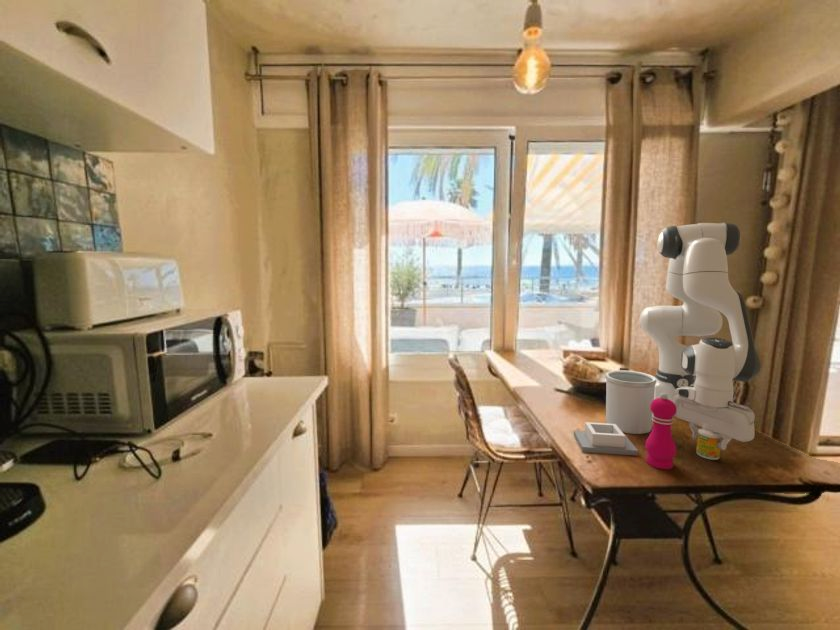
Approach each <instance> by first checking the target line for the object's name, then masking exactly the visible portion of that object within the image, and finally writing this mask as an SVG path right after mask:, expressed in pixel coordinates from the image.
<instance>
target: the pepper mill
mask: <svg viewBox="0 0 840 630" xmlns="http://www.w3.org/2000/svg"><path fill="white" fill-rule="evenodd" d="M660 397H661V398H656V399H654V400H653V401H652V402H651V405H650V409H651V411H652V412H653V414H652V429H651V431H650V432H649V436H648V437H647V439H646V440H645V445H644V447H645V448H644V449H645V450H646V451H647V454H646V463H647V464H649V465H650V466H652V467H654V468H657V469H661V470H671V469H673V467H674V457H675V456H676V454H677V447H676V442H675V440H674V438H673V436H672V435H673V434H672V424H674V418H675V416H674V415H675V414H676V405H675V404H674V403H673V402H672V401H671V400H669V399H667V398H668V395H667V394H666V393H662V394H661V395H660Z"/></svg>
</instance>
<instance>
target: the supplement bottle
mask: <svg viewBox="0 0 840 630" xmlns="http://www.w3.org/2000/svg"><path fill="white" fill-rule="evenodd" d="M720 441H722V434H720V433H717V432H714V431H712V430H710V429H709V425H707V424H705V423H703V427H700V428H698V437H697V439H696V450H695V451H696V455H698V456H699V457H701V458H704V459H707V460H712V461H713V460H715V461H716V460H719V459H720V458H721V457H720V456H721V449H719V448H717V442H720Z"/></svg>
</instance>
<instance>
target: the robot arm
mask: <svg viewBox="0 0 840 630" xmlns="http://www.w3.org/2000/svg"><path fill="white" fill-rule="evenodd" d="M741 237H742V235H741V230H740V228H739V226H737V224H735V223H729V222H721V223H720V222H719V223H716V222H715V223H713V222H699V223H693V224H685V225H684V224H683V225H678V226H677V225H671V226H668V227H665V228H663V229H662V230H661V232H660V233H659V236H658V238H657V242H656V244H657V249H658V252H659V254H660V255H661V256H663V257H664V258H667V259H669V260H668V265H667V267H668V268H667V273H666V274H667V275H666V281H665V282H666V283H665V290H666V292H667V294H668V295H669V296H671V297H673V298H675V299H677V300H680V301H681V302H682V305H655V306H654V305H651V306H648V307H645V308H644V309H643V310H642V311H641V312H640V315H639V325H640V327H641V328H642V330H643V331H644V332H645V333H647V334H648V335H650V337H651V338H652V339H653V341H654V342H655V344H656V346H657V349H658V368H657V370H656V374H655V378H656V384H655V391H654V399H656V398H661V397H660V395H661V394H662V393H666V394H667V395H668V398H667V399H669V400H671V401H672V402H673V403H674V404H675V405H676V414H675V415H674V416H673V417H674V418H677V419H679V420H682V421H684V422H688V426H689V429H690V430H691V432H692V439H694V440H697V437H698V429H699V428H698V427H700V428H702V427H703V423H705V424H707V425H709V429H710V430H712V431H714V432H717V433H720V434H721V441H720V442H717V448H719V449H720V450H722V451H725V450H726V449H727V446H728V444H729V442H730V441H731V440H732V439H733V440H737V441H739V442H740V443H741V442H742V443H745V442H750V441H752V440H754V438H755V433H756V432H755V419H756V417H755V416H756V415H755V412H754V411H753V410H752V409H750V407H749V406H747V405H742V404H739V403H738V402H734V401H733V399H734V389H735V388H734V383H733V381H736V382H742V383H743V382H744V383H746V382H748V381H749V382H750V380H752V379H754V378H755V377H756V376H758V375H760V372H761V360H760V357H759V354H758V351H757V349H756V346H755V342H754V338H753V337H754V336H753V333H752V329H751V323H750V318H749V314H748V311H747V306H746V303H745V300H744V297H743V295H742V294H741V293H740V292H739V291H736V290H735V289H734V288H733V287H732V285H731V283H730V279H729V268H728V266H729V265H728V256H731V255H732V254H733V253H735V252H736V251H737V250H738V249H739V247H740V244H741ZM721 314H723V315H721ZM723 316H724V317H726V319H727V321H728V327H729V332H730V336H731V341H730V340H729V339H725V338H721V337H715V336H714V337H711V336H712V335H716V334H718V333H719V331H720V330H721V329H722V327H723ZM679 336H684V337H689V336H690V337H704V338H701V339H700V340H699V342H698V343H696V344H690V345H689V346H687V345H685V344H683V343H680V342H679V341H678V340H677V337H679ZM705 336H706V337H705ZM707 336H710V337H707Z"/></svg>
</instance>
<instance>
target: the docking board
mask: <svg viewBox="0 0 840 630" xmlns="http://www.w3.org/2000/svg"><path fill="white" fill-rule="evenodd" d="M573 437H574V438H575V440H576V442H577V445H578V446H579V448H580V450H581V452H582V453H592V454H593V453H594V454H608V455H609V454H610V455H622V456H623V455H624V456H638V455H639V450H638V449H637V447H636V446H635V445H634V443H633V442H632V441H631V440H630V439H629V438H628V437H627V435H626V434H625V432H622V431H621V430H620V429H619V428H618V426H617V425H616V424H609V423H605V422H587V421H585V423H584V430H577V429H576V430H573Z"/></svg>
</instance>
